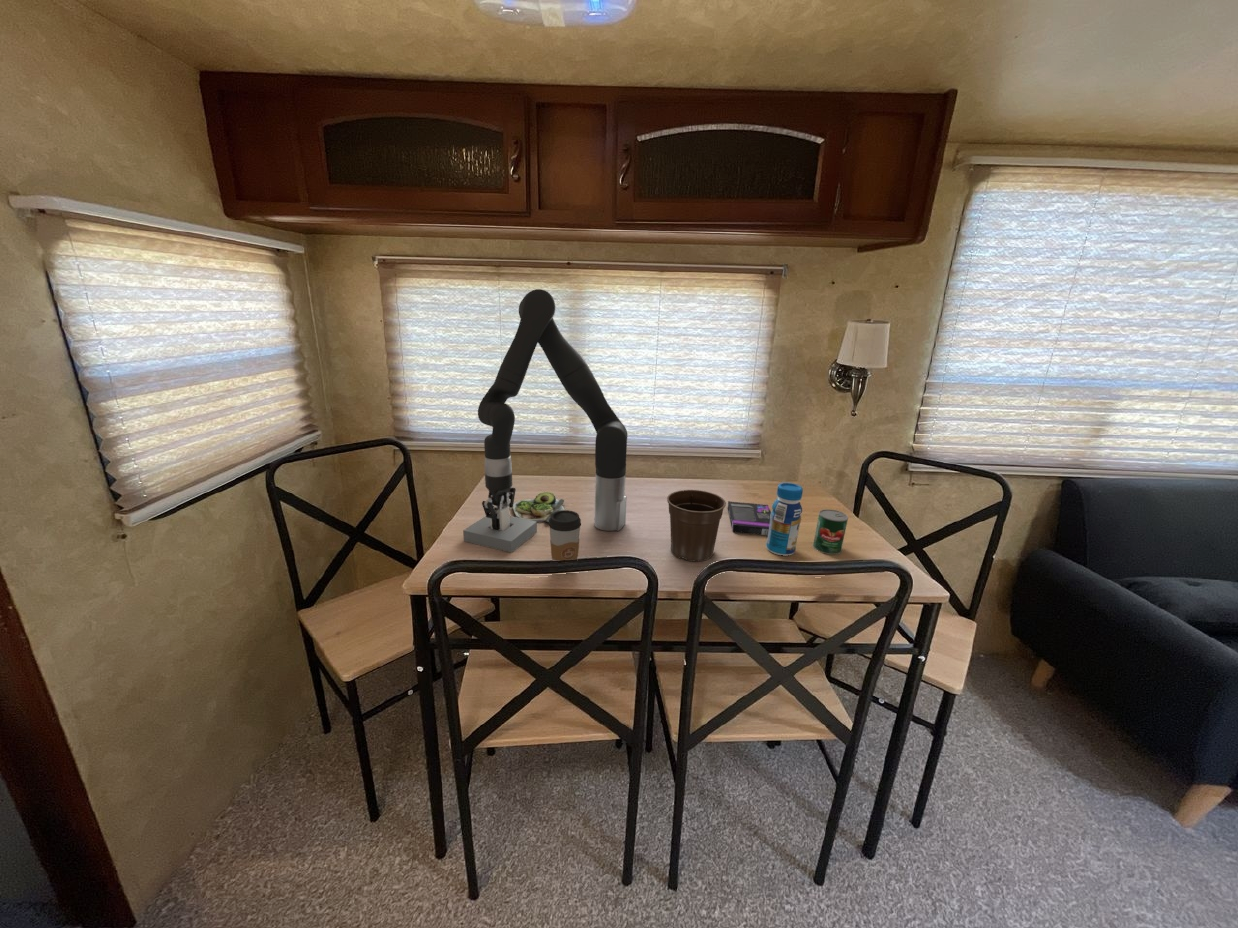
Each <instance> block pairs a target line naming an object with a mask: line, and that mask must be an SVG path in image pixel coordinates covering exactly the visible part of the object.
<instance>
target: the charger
mask: <svg viewBox="0 0 1238 928" xmlns="http://www.w3.org/2000/svg"><path fill="white" fill-rule="evenodd" d="M495 507H498V506H495ZM494 511H495V514H496V510H494ZM510 511H511V509H510V510H509V507H508V506H507V507H506V506H503V505H502V510H501V511H500V517H499V518H500V529H499V531H503V532H504V531H505V530H507V529H508V528H509V527H510V516H511V513H510ZM490 525H491V529H493V528H492V518H490ZM494 530H495V529H494Z"/></svg>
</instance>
